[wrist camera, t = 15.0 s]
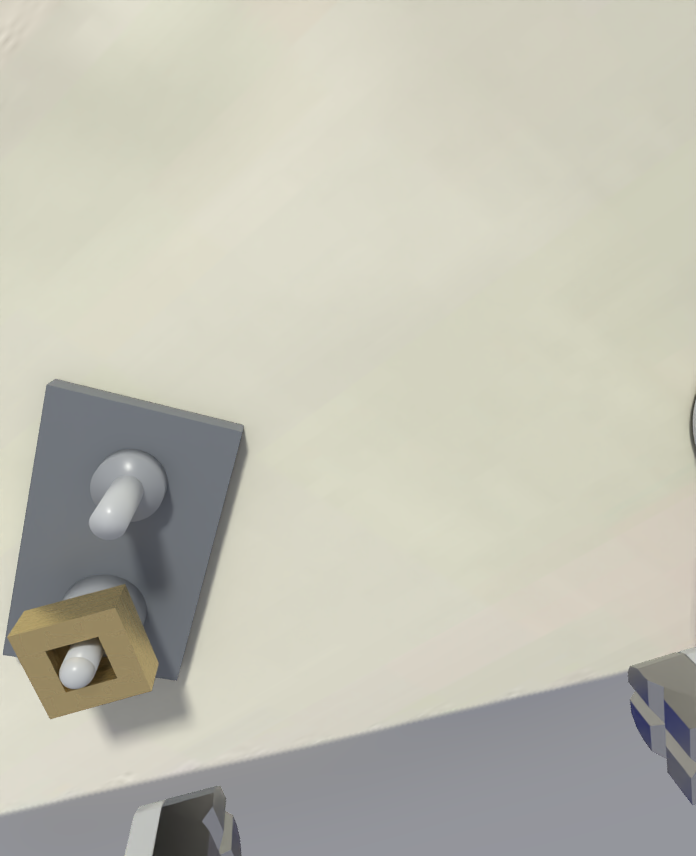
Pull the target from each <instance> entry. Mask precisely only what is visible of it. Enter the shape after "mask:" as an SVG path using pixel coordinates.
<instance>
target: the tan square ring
mask: <svg viewBox="0 0 696 856" xmlns="http://www.w3.org/2000/svg"><path fill="white" fill-rule="evenodd" d="M96 637H99V639H100V642H101V644H102V646H103V648H104V650H105V652H106V655H107V656H106V657H102V658H101V661H100V663H99V666H98V668H97V671H96V673H95V676H94V678H93V679H92V681H91V682H90V683H89V684H88V685H86V686H85V687H83V688H80V689H70V688H67V687H65V686H64V685H63V684H62V682H61V681H60V678H59V670H60V667H61V665H62V663H63V661H64V659H65V657H66V655H67V652H68V650H69V648H70V644H74V643H77V642H81V641H85V640H88V639H92V638H96ZM7 638H8V640H9V642H10V644H11V645H12V647H13V649H14V651H15V653H16V655H17V657H18V659H19V661H20V663H21V665H22V666H23V668H24V670H25V672H26V674H27V676H28V678H29V680H30V682H31V684H32V686H33V687H34V689H35V691H36V693H37V695H38V697H39V699H40V701H41V703H42V705H43V707H44V708H45V710H46V712H47V714H48V716H49V718H50V719H53V718H56V717H60V716H63V715H67V714H71V713H74V712H78V711H81V710H85V709H89V708H92V707H96V706H99V705H103V704H107V703H110V702H114V701H117V700H121V699H125V698H128V697H132V696H135V695H139V694H143V693H146V692H150V691H152V687H153V684H154V680H155V676H156V672H157V668H158V664H159V663H158V660H157V658H156V655H155V653H154V651H153V648H152V646H151V644H150V641H149V639H148V636H147V634H146V632H145V629H144V627H143V625H142V622H141V620H140V618H139V615H138V613H137V610H136V608H135V606H134V603H133V601H132V599H131V596H130V594H129V592H128V589H127V587H126V584H123V585H119V586H115V587H112V588H108V589H104V590H100V591H97V592H93V593H89V594H86V595H82V596H78V597H74V598H71V599H67V600H63V601H59V602H56V603H52V604H48V605H44V606H41V607H37V608H33V609H30V610H26V611H24V612H23V614H22V615H21V617H20V618H19V620H18V621H17V623H16V624H15V626H14V627H13V629H12V630H11V632H10V633H9V635H8V636H7Z"/></svg>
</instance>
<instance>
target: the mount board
mask: <svg viewBox="0 0 696 856" xmlns="http://www.w3.org/2000/svg"><path fill="white" fill-rule="evenodd" d="M242 432H243V425H242V424H237V423H233V422H229V421H225V420H221V419H217V418H213V417H209V416H205V415H201V414H197V413H192V412H188V411H184V410H180V409H176V408H172V407H168V406H164V405H160V404H156V403H152V402H148V401H143V400H139V399H135V398H131V397H127V396H123V395H119V394H115V393H111V392H107V391H103V390H99V389H94V388H90V387H86V386H82V385H78V384H74V383H70V382H66V381H62V380H58V379H55V380H53V381H51V382H50V383H48V384H47V386H46V392H45V398H44V404H43V410H42V416H41V423H40V429H39V435H38V441H37V447H36V453H35V459H34V466H33V472H32V478H31V484H30V490H29V496H28V502H27V509H26V515H25V521H24V527H23V533H22V539H21V545H20V552H19V558H18V564H17V570H16V576H15V582H14V588H13V594H12V601H11V607H10V613H9V619H8V625H7V631H6V637H5V644H4V650H3V655H7V656H14V657H17V655H16V653H15V651H14V649H13V647H12V645H11V644H10V642H9V640H8V638H7V636H8V635H9V633H10V632H11V630H12V629H13V627H14V626H15V624H16V623H17V621H18V620H19V618H20V617H21V615H22V614H23V612H24V611H26V610H30V609H33V608H37V607H41V606H44V605H48V604H52V603H56V602H59V601H63V600H67V599H71V598H74V597H78V596H82V595H86V594H89V593H93V592H97V591H100V590H104V589H108V588H112V587H115V586H119V585H123V584H126V587H127V589H128V592H129V594H130V596H131V599H132V601H133V603H134V606H135V608H136V610H137V613H138V615H139V618H140V620H141V622H142V625H143V627H144V629H145V632H146V634H147V636H148V639H149V641H150V644H151V646H152V648H153V651H154V653H155V655H156V658H157V660H158V663H159V664H158V668H157V672H156V676H155V677H156V678H163V679H170V680H177V678H178V674H179V671H180V667H181V663H182V659H183V656H184V652H185V648H186V644H187V640H188V637H189V633H190V629H191V625H192V621H193V618H194V614H195V610H196V606H197V603H198V599H199V595H200V591H201V587H202V584H203V580H204V576H205V572H206V568H207V565H208V561H209V557H210V553H211V550H212V546H213V542H214V538H215V534H216V531H217V527H218V523H219V519H220V515H221V512H222V508H223V504H224V500H225V497H226V493H227V489H228V485H229V481H230V478H231V474H232V470H233V466H234V463H235V459H236V455H237V451H238V447H239V444H240V440H241V436H242ZM106 656H107V655H106V652H105V650H104V648H103V646H102V644H101V642H100V639H99V637H96V638H92V639H88V640H85V641H81V642H77V643H74V644H70V648H69V650H68V652H67V655H66V657H65V659H64V661H63V663H62V665H61V667H60V670H59V678H60V681H61V682H62V684H63V685H64V686H65V687H67V688H70V689H80V688H83V687H85V686H86V685H88V684H89V683H90V682H91V681H92V679H93V678H94V676H95V673H96V671H97V668H98V666H99V663H100V661H101V658H102V657H106Z"/></svg>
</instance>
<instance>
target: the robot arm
mask: <svg viewBox="0 0 696 856" xmlns="http://www.w3.org/2000/svg"><path fill="white" fill-rule="evenodd" d="M693 435H694V441H695V445H696V401H695V405H694V412H693ZM628 682H629V683H630V685H631V686H632V687H633V688H634V690H635V692H634V694H633V695H632V697H631V699H630V705H631V713H632V716H633V719H634V722H635V724H636V727H637V729H638V731H639V732H640V734H641V736H642V738H643V740H644V741H645V742H646V744H647V745H648V747H649V748H650V749H651V751H653V752H654V753H656V754H658V755H660V756H662V757H664V758H666V759H667V770H668V773H669V775H670V776H671V777H672V779H673V780H674V781H675V783H676V784H677V785H678V787H679V788H680V789H681V791H682V792H683V793H684V795H685V796H686V797H687V799H688V800H689V801H690V803H691V804H692V805H695V804H696V647H693V648H690V649H686V650H683V651H680V652H678V653H672V654H669V655H665V656H662V657H659V658H655V659H652V660H649V661H645V662H642V663H639V664H636V665H632V666H630V668H629V670H628ZM225 807H226V797H225V795H224V793H223V791H222V789H221V787H220V786H215V787H212V788H208V789H204V790H200V791H196V792H192V793H188V794H185V795H180V796H177V797H173V798H169V799H166V800H163V801H159V802H155V803H152V804H148V805H144V806H140V807H139V808H138V810H137V812H136V813H135V815H134V817H133V822H132V826H131V830H130V834H129V838H128V843H127V847H126V851H125V855H124V856H241V844H240V836H239V832H238V828H237V824H236V822H235V819H234V817H233V815H231V814H229V813H228V812H226V811H225Z"/></svg>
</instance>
